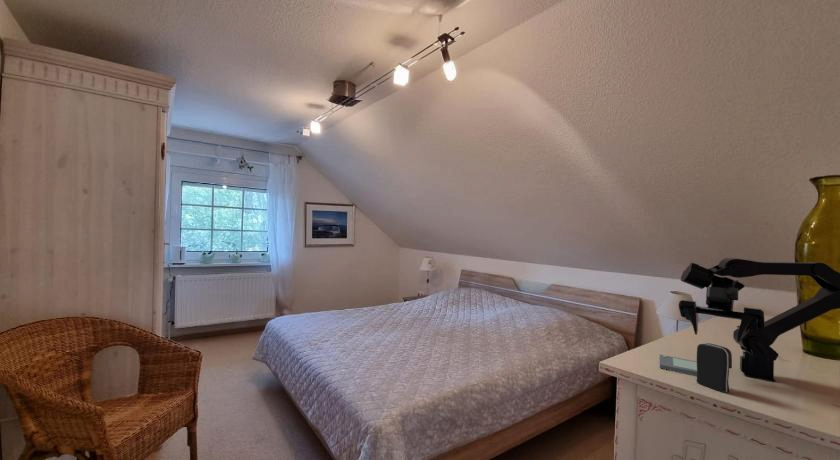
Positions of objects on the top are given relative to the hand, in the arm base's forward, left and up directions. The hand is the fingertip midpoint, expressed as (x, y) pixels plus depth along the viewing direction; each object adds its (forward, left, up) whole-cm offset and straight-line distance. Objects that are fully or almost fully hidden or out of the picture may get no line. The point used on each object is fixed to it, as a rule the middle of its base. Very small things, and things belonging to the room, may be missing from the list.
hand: (716, 337), depth 97 cm
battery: (+1, +6, -13) cm, 14 cm away
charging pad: (+6, -7, -12) cm, 16 cm away
